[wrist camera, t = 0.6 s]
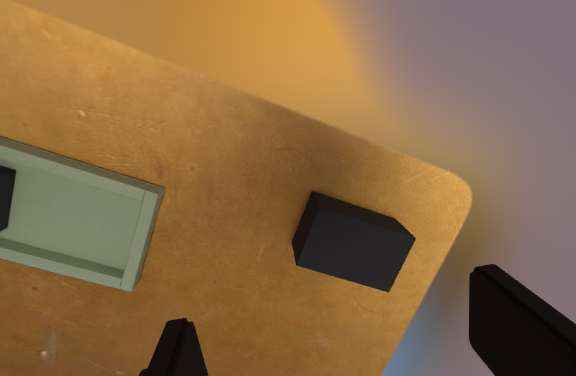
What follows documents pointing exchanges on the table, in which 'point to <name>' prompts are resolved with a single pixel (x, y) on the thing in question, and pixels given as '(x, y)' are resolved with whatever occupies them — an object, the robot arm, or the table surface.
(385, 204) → the table surface
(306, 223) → the loose pad
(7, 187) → the black rectangular block
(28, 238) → the pad frame
